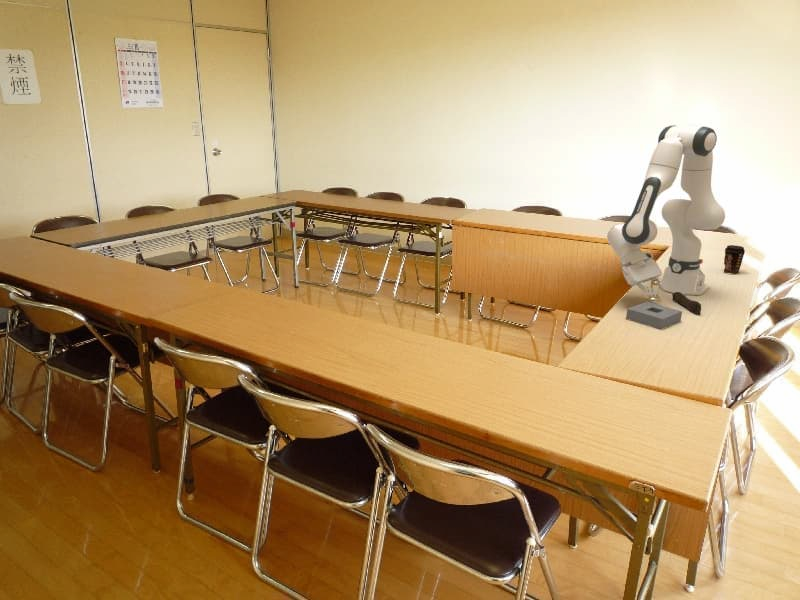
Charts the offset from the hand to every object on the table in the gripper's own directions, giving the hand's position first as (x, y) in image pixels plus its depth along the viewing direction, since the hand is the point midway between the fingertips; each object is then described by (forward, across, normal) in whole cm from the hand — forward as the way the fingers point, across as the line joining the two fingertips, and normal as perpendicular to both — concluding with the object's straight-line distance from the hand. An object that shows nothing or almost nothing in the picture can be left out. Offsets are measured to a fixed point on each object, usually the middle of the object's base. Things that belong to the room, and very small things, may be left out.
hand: (653, 290), depth 231 cm
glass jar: (+5, 0, +5) cm, 7 cm away
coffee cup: (+2, +80, +8) cm, 81 cm away
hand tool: (+12, +12, -1) cm, 17 cm away
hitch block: (+11, -13, -1) cm, 17 cm away
